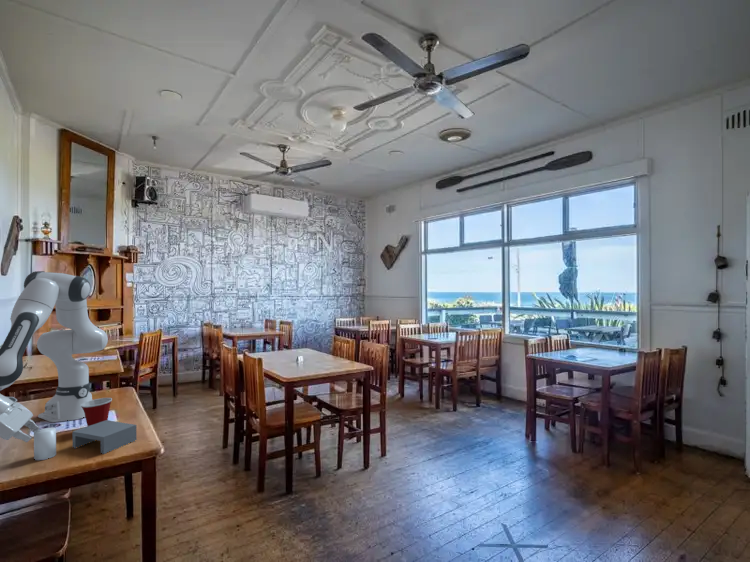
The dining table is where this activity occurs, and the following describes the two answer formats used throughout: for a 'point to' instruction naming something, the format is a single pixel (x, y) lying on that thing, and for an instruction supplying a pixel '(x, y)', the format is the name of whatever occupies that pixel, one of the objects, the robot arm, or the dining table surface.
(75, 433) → the shelf
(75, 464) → the dining table surface
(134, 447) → the dining table surface
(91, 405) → the plastic cup
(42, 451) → the white rounded domed part
